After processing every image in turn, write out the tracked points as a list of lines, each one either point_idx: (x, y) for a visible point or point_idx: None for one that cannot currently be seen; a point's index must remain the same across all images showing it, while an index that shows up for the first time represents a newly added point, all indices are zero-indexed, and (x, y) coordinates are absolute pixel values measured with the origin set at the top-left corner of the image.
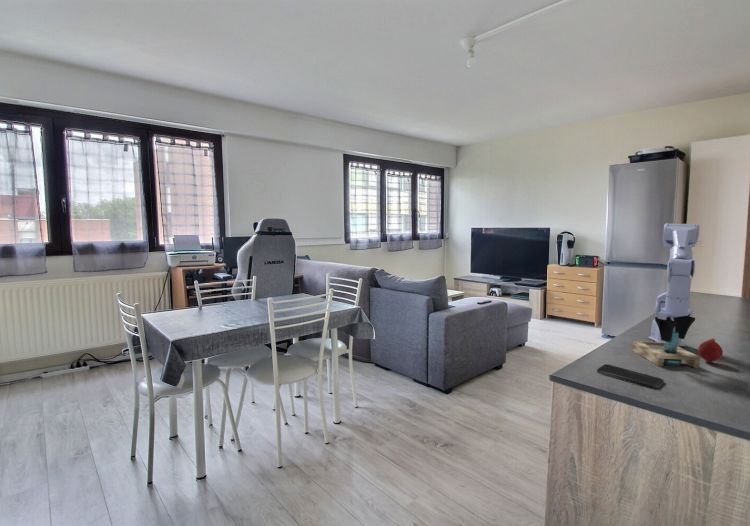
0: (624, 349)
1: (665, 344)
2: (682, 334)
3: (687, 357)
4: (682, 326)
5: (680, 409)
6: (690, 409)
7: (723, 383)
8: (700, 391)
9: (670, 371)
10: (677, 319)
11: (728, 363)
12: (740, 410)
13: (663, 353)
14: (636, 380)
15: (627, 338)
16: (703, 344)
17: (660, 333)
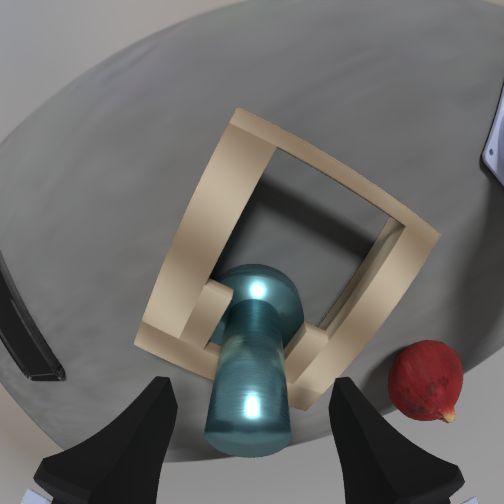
0: (226, 86)
1: (221, 352)
2: (336, 427)
3: None
4: (350, 471)
5: (30, 412)
6: (43, 420)
7: None
8: None
9: (150, 357)
10: (376, 495)
11: None
12: None
13: (179, 341)
14: (8, 343)
15: (428, 10)
16: (420, 393)
17: (131, 405)
